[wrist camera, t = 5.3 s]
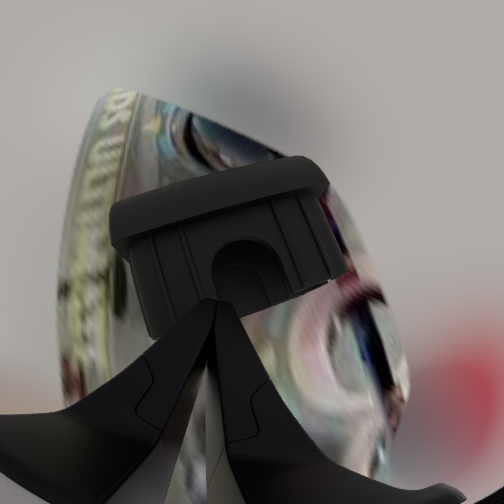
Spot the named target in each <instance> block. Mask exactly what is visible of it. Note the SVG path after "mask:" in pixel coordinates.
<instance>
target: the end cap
mask: <svg viewBox="0 0 504 504" xmlns="http://www.w3.org/2000/svg"><path fill="white" fill-rule="evenodd" d="M329 184H330V182H329V181H328V179H327V177H326V176H325V174H324V173H323V172H322V170H321V169H320V168H319V167H318V165H317V164H315V163H314V162H313V161H312V160H310V159H308V158H306V157H304V156H291V157H286V158H281V159H276V160H271V161H266V162H261V163H256V164H252V165H247V166H243V167H238V168H234V169H230V170H225V171H221V172H217V173H213V174H209V175H205V176H202V177H198V178H194V179H190V180H187V181H183V182H179V183H176V184H172V185H169V186H165V187H162V188H159V189H155V190H152V191H149V192H145V193H142V194H139V195H136V196H133V197H130V198H127V199H124V200H121V201H118V202H115V203H114V204H113V205H112V207H111V209H110V214H109V231H110V239H111V245H112V246H113V247H114V248H115V249H116V250H117V251H118V252H119V253H120V254H121V255H122V256H123V257H124V258H125V259H126V260H127V261H128V262H129V264H130V269H131V273H132V277H133V281H134V285H135V289H136V293H137V296H138V300H139V304H140V307H141V311H142V314H143V318H144V321H145V324H146V328H147V331H148V334H149V336H150V337H151V338H152V339H153V340H158V339H159V338H161V337H162V336H163V335H164V334H165V333H166V332H167V331H168V330H169V329H171V328H172V327H173V326H174V325H175V324H176V323H177V322H178V321H179V320H181V319H182V318H183V317H184V316H185V315H186V314H187V313H188V312H189V311H190V310H192V309H193V308H194V307H195V306H196V305H197V304H198V303H199V302H200V301H202V300H203V299H204V298H210V299H215V300H217V302H218V301H226V302H230V303H232V305H233V307H234V309H235V311H236V313H237V315H238V317H239V318H241V317H244V316H247V315H250V314H253V313H256V312H258V311H261V310H264V309H267V308H270V307H272V306H275V305H278V304H280V303H283V302H286V301H288V300H291V299H294V298H296V297H299V296H302V295H304V294H306V293H307V292H310V291H312V290H315V289H317V288H319V287H321V286H323V285H325V284H327V283H328V281H327V280H329V279H331V280H333V279H336V278H338V277H340V276H342V275H344V274H345V273H347V272H349V269H348V266H347V264H346V261H345V259H344V257H343V254H342V252H341V250H340V247H339V245H338V243H337V240H336V238H335V236H334V234H333V231H332V229H331V227H330V225H329V223H328V220H327V218H326V216H325V214H324V212H323V210H322V208H321V205H320V203H319V201H318V199H319V198H320V197H321V195H322V194H323V192H324V191H325V190H326V188H327V187H328V186H329ZM216 309H217V308H216Z"/></svg>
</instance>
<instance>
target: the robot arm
mask: <svg viewBox="0 0 504 504" xmlns="http://www.w3.org/2000/svg"><path fill="white" fill-rule="evenodd" d="M216 308H217V309H216ZM210 342H211V343H210ZM209 348H210V349H209ZM208 354H209V355H208ZM207 360H208V361H207ZM206 364H207V371H206V481H207V504H460V503H462V502H464V501H465V500H466V499H467V498H466V497H465V496H464V494H463V493H462V492H461V491H459V490H458V489H456V488H454V487H452V486H449V485H447V484H444V483H438V484H435V485H432V486H430V487H427V488H424V489H420V490H404V489H399V488H395V487H392V486H389V485H387V484H384V483H381V482H378V481H376V480H373V479H371V478H368V477H366V476H363V475H361V474H358V473H356V472H354V471H351V470H349V469H347V468H345V467H342V466H340V465H338V464H336V463H335V462H333V461H332V460H331V459H329V458H328V457H327V456H326V455H325V454H324V453H323V452H322V451H321V450H320V449H319V448H318V447H317V445H316V444H315V443H314V442H313V440H312V439H311V438H310V436H309V435H308V434H307V433H306V431H305V430H304V429H303V427H302V426H301V425H300V424H299V422H298V421H297V420H296V418H295V417H294V416H293V414H292V413H291V411H290V410H289V409H288V407H287V406H286V404H285V403H284V401H283V400H282V398H281V396H280V395H279V393H278V391H277V390H276V388H275V386H274V384H273V382H272V380H271V379H269V378H270V377H269V375H268V373H267V371H266V369H265V368H264V366H263V364H262V362H261V360H260V358H259V356H258V354H257V352H256V350H255V348H254V347H253V345H252V343H251V341H250V339H249V337H248V335H247V333H246V331H245V329H244V327H243V325H242V323H241V321H240V319H239V317H238V315H237V313H236V311H235V309H234V307H233V305H232V303H230V302H226V301H218V302H217V300H215V299H210V298H204V299H203V300H202V301H200V302H199V303H198V304H197V305H196V306H195V307H194V308H193V309H192V310H190V311H189V312H188V313H187V314H186V315H185V316H184V317H183V318H182V319H181V320H179V321H178V322H177V323H176V324H175V325H174V326H173V327H172V328H171V329H169V330H168V331H167V332H166V333H165V334H164V335H163V336H162V337H161V338H159V339H158V340H157V341H156V342H155V343H154V344H153V345H152V346H151V347H149V348H148V349H147V350H146V351H145V352H144V353H143V355H140V356H139V357H138V358H137V359H136V360H135V361H134V362H133V363H131V364H130V365H129V366H128V367H127V368H125V369H124V370H123V371H122V372H121V373H119V374H118V375H116V376H115V377H114V378H112V379H111V380H109V381H108V382H107V383H105V384H104V385H102V386H101V387H99V388H98V389H96V390H95V391H93V392H92V393H90V394H89V395H87V396H85V397H84V398H82V399H81V400H79V401H78V402H76V403H75V404H73V405H71V406H70V407H67V408H65V409H63V410H60V411H56V412H50V413H37V414H15V415H13V414H10V415H0V504H164V501H165V497H166V494H167V491H168V487H169V483H170V481H171V477H172V474H173V471H174V468H175V464H176V461H177V458H178V455H179V452H180V448H181V445H182V442H183V439H184V435H185V432H186V429H187V426H188V423H189V420H190V416H191V413H192V410H193V407H194V404H195V400H196V397H197V394H198V391H199V388H200V385H201V382H202V378H203V375H204V372H205V369H206ZM474 504H504V486H502V487H501V488H499V489H498V490H496V491H494V492H493V493H491V494H489V495H488V496H486V497H484V498H483V499H481V500H479V501H477V502H475V503H474Z"/></svg>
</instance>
